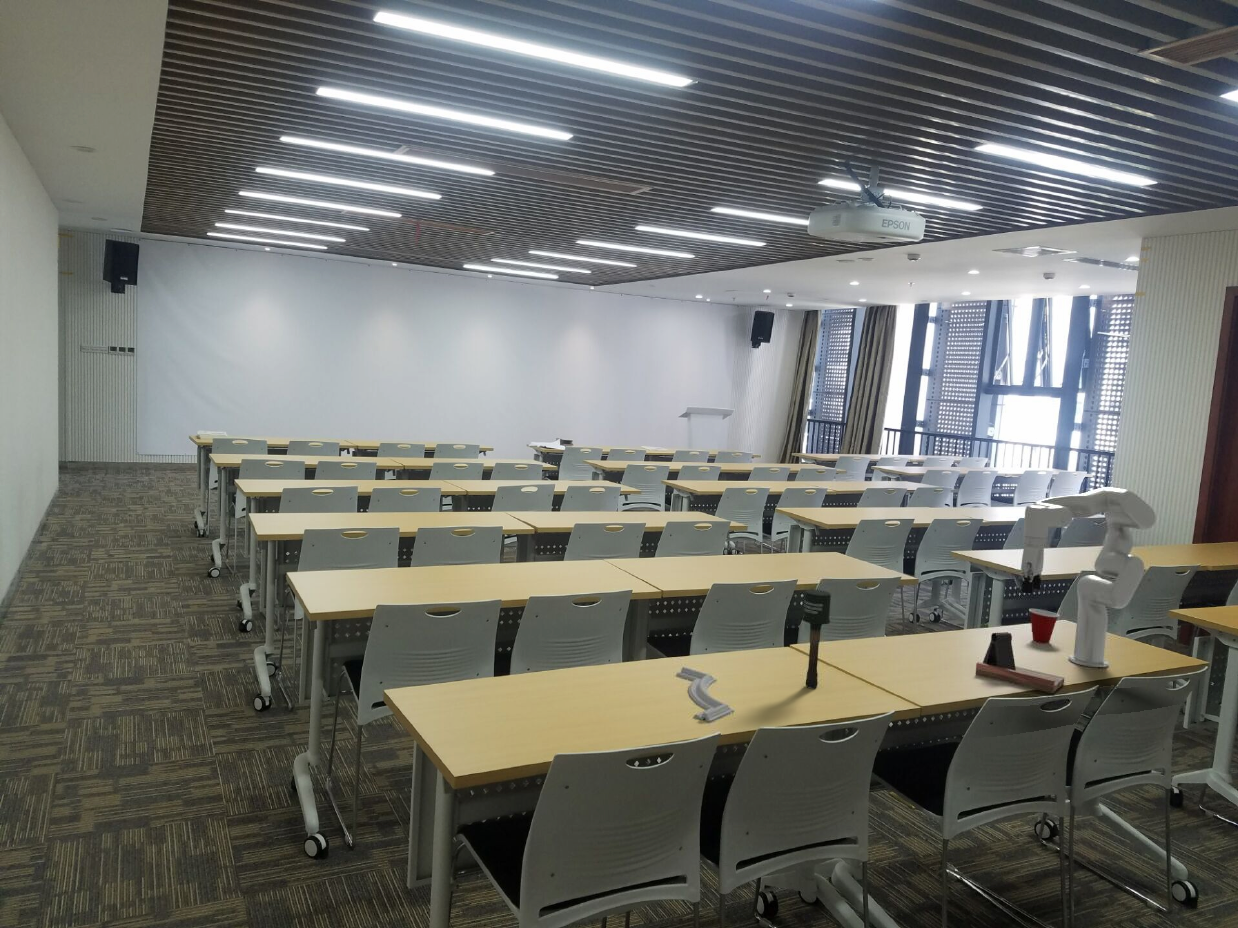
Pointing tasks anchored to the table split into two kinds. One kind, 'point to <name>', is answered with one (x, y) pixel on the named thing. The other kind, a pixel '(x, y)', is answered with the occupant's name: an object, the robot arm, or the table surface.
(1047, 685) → the board
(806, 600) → the stick grenade
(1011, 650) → the door stopper
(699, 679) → the molding
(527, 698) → the table surface
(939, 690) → the table surface
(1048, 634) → the plastic cup
